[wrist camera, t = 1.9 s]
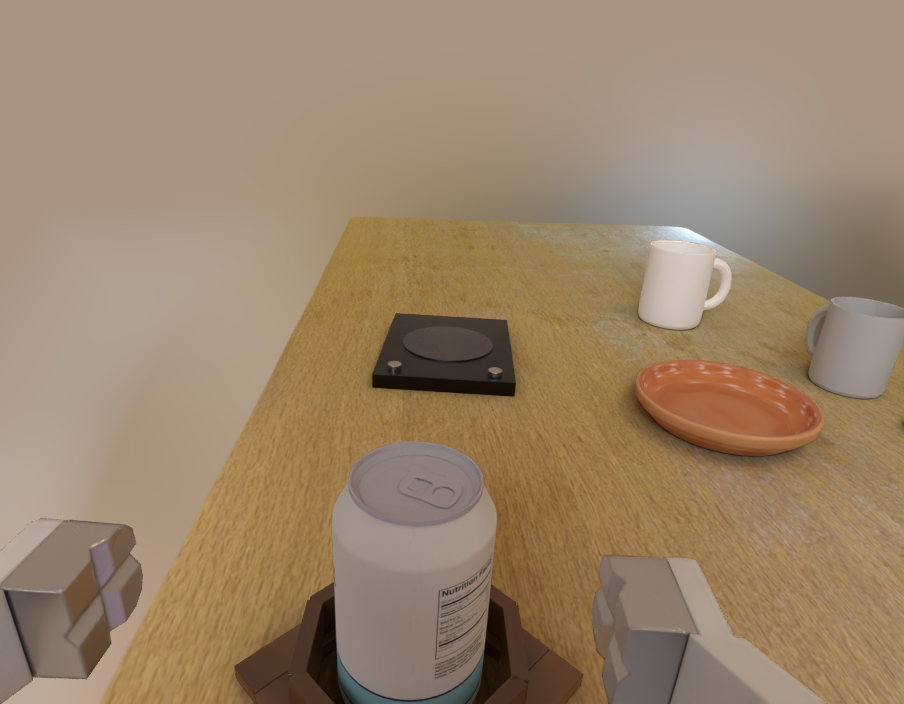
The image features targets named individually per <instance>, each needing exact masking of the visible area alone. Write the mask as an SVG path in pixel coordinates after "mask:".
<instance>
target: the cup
mask: <svg viewBox="0 0 904 704" xmlns="http://www.w3.org/2000/svg"><path fill="white" fill-rule="evenodd" d="M903 342H904V309H903V308H900V307H898V306H895V305H892V304H888V303H884V302H880V301H876V300H870V299H864V298H855V297H837V298H833V299H832V300H831V302H830V304H825V305H823V306H821V307H820V308H818V309H817V310H816V311H815V312H814V313H813V314H812V316H811V318H810V320H809V322H808V325H807V328H806V333H805V346H806V349H807V351H808V353H809V354H810V355H811V356H812V357H813V358H812V361H811V364H810V367H809V372H808V374H809V377H810V380H811V381H812V382H813V383H814V384H816V385H817V386H819V387H821V388H823V389H825V390H827V391H830V392H833V393H835V394H839V395H843V396H847V397H852V398H860V399H872V398H877V397H878V396H880V395H881V394H883V393H884V391H885V389H886V387H887V384H888V381H889V379H890V376H891V373H892V371H893V368H894V366H895V363H896V360H897V358H898V355H899V352H900V350H901V347H902V345H903Z"/></svg>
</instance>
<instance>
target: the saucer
mask: <svg viewBox="0 0 904 704" xmlns="http://www.w3.org/2000/svg"><path fill="white" fill-rule="evenodd" d="M635 390H636V395H637V398H638V400H639V401H640V403H641V404H642V405H643V407H644V408H645V410H646V411H647V412H648V413H649V414H650V415H651V416H652V417H653V419H654V420H655V421H656V422H657V423H658V424H659V425H660V426H662V427H663V428H664V429H666V430H667V431H668V432H670V433H671V434H673V435H675V436H677V437H679V438H681V439H683V440H685V441H687V442H690V443H692V444H695V445H697V446H700V447H703V448H707V449H710V450H714V451H718V452H723V453H727V454H734V455H742V456H768V455H775V454H779V453H782V452H785V451H789V450H793V449H796V448H799V447H801V446H803V445H806V444H808V443H810V442H812V441H813V440H815V439H816V438H817V437H818V435H819V434H820V432H821V430H822V429H823V427H824V424H825V416H824V413H823V411H822V409H821V408H820V406H819V405H818V404H817V403H816V402H815V401H814V400H813V399H812V398H810V397H809V396H808V395H806V394H805V393H804V392H802V391H801V390H799V389H797V388H796V387H794V386H792V385H790V384H788V383H786V382H784V381H781V380H779V379H777V378H774V377H772V376H769V375H766V374H764V373H761V372H758V371H754V370H751V369H747V368H743V367H739V366H735V365H730V364H725V363H719V362H712V361H702V360H670V361H664V362H659V363H655V364H652V365H650V366H647V367H646V368H644V369H643V370H641V371H640V372H639V374H638V375H637V377H636V384H635Z"/></svg>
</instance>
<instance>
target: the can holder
mask: <svg viewBox="0 0 904 704" xmlns="http://www.w3.org/2000/svg"><path fill="white" fill-rule="evenodd" d="M335 648H337V644H336V618H335V591H334V582H333V583H332V584H330V585H328V586H327V587H325V588H324V589H322V590H320V591H319V592H317V593H315V594H314V595H312V596H311V597H310V600H307V604H306V608H305V611H304V615H303V619H302V622H301V624H299V625H298V626H296V627H295V628H293V629H291V630H290V631H288V632H287V633H285V634H284V635H282V636H281V637H279V638H277V639H276V640H274V641H273V642H271V643H270V644H268V645H267V646H265V647H263V648H262V649H260V650H259V651H257V652H256V653H254V654H253V655H251V656H250V657H248V658H246V659H245V660H243V661H242V662H240V663H239V664H237V665H236V666H235V675H236V678H237V680H238V681H239V682H240V684H241V685H242V686H243V688H244V689H245V691H246V692H247V693H248V695H249V696H250V697H251V699H252V700H253V701H254V703H255V704H334V702H333V701H332V700H331V699H330V698H329V697H328V696H327V694H326V693H325V692H324V691H323V690H322V689H321V687H320V686H319V685H318V684H317V679H318V674H319V670H320V665H321V661H322V657H324V656H325V655H327V654H328V653H330V652H331V651H332V650H334V649H335ZM484 650H485V651H486V652H487V653H489V654H490V655H491V656H492V657H493V658H495V659H496V660H497V661H498V662H499V664H500V674H501V684H502V685H501V686H500V687H499V688H498V689H497V690H496V691H495V692H494V693H493V694H492V695H491V696H490V697H489V698H488V699H487V700H486V701H485V702H484V703H483V704H565V703H566V702H567V701H568V700H569V698H570V697H571V696H572V695H573V694H574V693H575V691H576V690H577V689H578V688H579V687H580V686H581V682H582V677H583V674H582V673H580V672H579V671H578V670H577V669H575V668H574V667H573V666H571V665H570V664H569V663H567V662H566V661H565V660H563V659H562V658H561V657H559V656H558V655H557V654H556V653H554V652H553V651H552V650H549V648H548V647H546V646H545V645H544V644H543V643H541V642H540V641H539V640H537V639H536V638H535V637H533V636H532V635H531V634H529V633H528V632H527V631H525V630H524V629H523V628H522V627H521V622H520V615H519V608H518V605H516V602H515V601H513V600H512V599H510V598H509V597H508V596H506V595H505V594H504V593H502V592H501V591H500V590H498V589H497V588H495V587H494V586H493V585H491V588H490V598H489V608H488V618H487V628H486V638H485V648H484Z"/></svg>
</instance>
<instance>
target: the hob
mask: <svg viewBox="0 0 904 704" xmlns="http://www.w3.org/2000/svg"><path fill="white" fill-rule="evenodd" d="M515 385H516V382H515V375H514V368H513V361H512V354H511V346H510V339H509V332H508V325H507V320H497V319H481V318H465V317H448V316H432V315H416V314H400V313H396V314H395V317H394V319H393V322H392V324H391V327H390V330H389V332H388V335H387V337H386V340H385V343H384V345H383V348H382V350H381V353H380V356H379V358H378V361H377V364H376V366H375V369H374V371H373V374H372V387H376V388H392V389H408V390H423V391H439V392H455V393H471V394H486V395H502V396H514V394H515Z"/></svg>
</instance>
